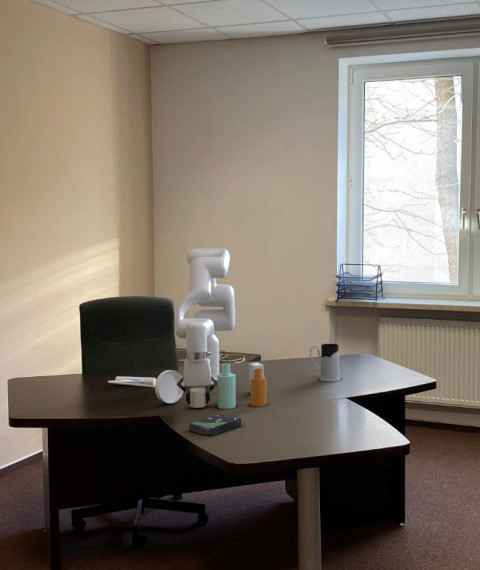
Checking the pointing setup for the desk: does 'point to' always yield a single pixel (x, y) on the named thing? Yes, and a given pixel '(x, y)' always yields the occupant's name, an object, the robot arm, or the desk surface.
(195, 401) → the cream short cylinder
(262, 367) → the cosmetic box
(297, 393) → the desk surface
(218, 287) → the robot arm
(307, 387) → the desk surface
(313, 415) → the desk surface
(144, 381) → the desk lamp
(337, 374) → the glass holder
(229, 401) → the bottle
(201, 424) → the disk drive
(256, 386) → the amber bottle
